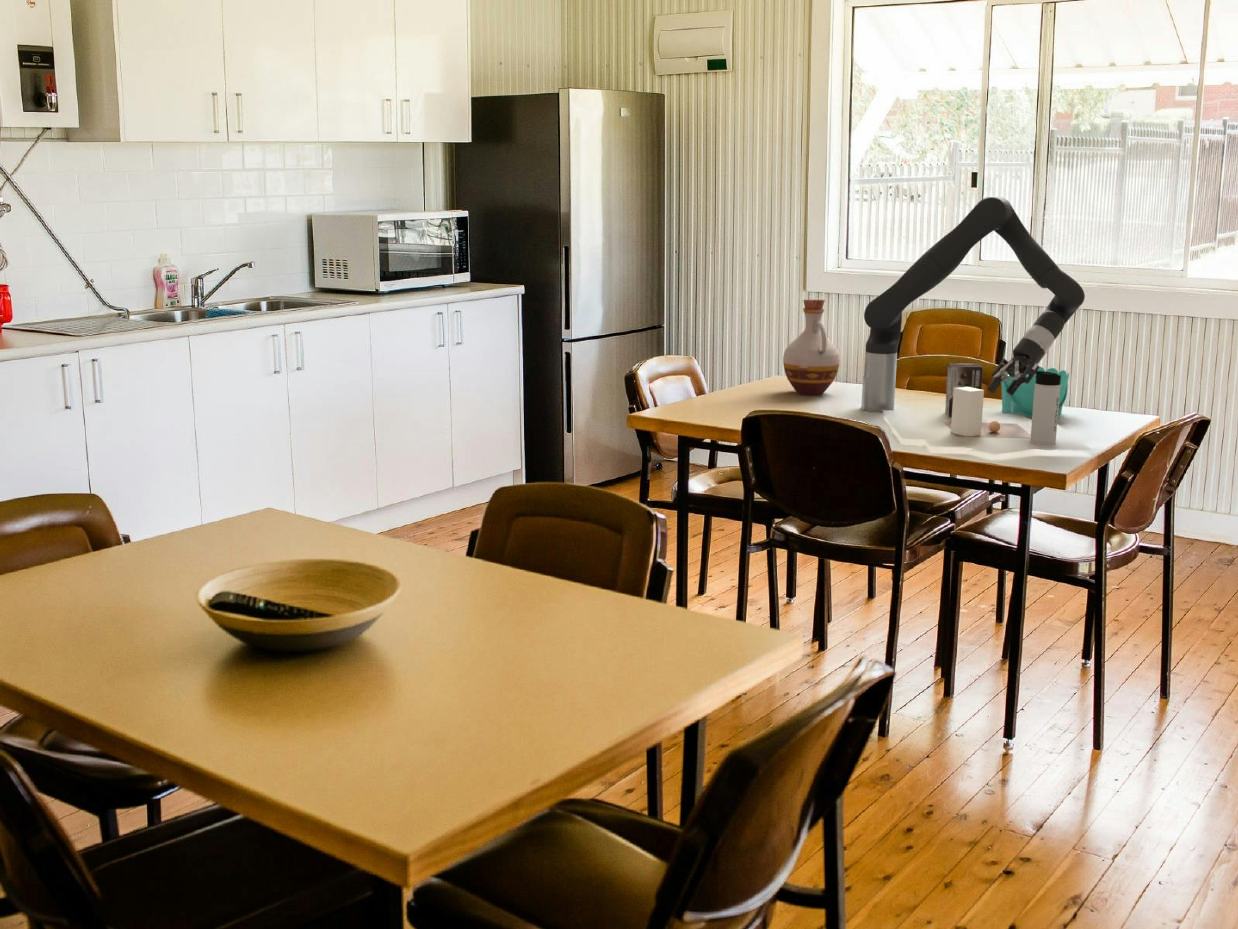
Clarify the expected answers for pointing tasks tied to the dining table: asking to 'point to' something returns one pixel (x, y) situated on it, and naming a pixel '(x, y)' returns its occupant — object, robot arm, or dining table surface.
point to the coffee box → (961, 380)
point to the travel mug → (1045, 407)
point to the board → (1000, 431)
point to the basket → (1030, 394)
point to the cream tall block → (967, 411)
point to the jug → (811, 355)
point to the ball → (994, 426)
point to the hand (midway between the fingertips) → (999, 392)
